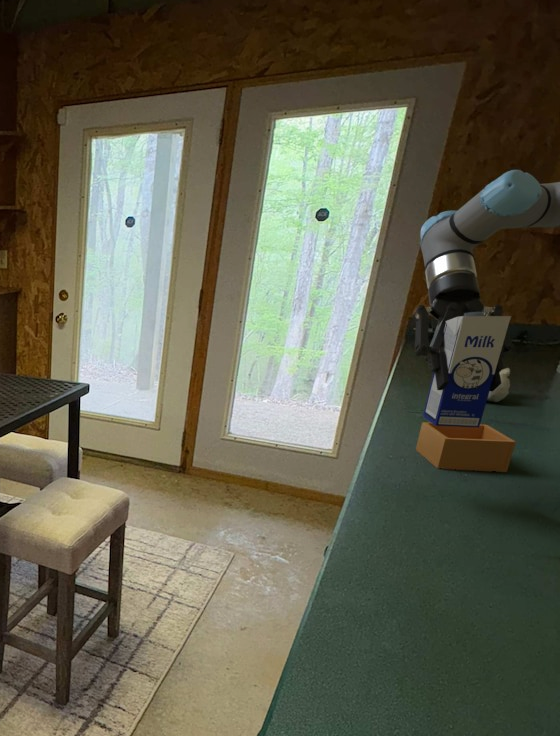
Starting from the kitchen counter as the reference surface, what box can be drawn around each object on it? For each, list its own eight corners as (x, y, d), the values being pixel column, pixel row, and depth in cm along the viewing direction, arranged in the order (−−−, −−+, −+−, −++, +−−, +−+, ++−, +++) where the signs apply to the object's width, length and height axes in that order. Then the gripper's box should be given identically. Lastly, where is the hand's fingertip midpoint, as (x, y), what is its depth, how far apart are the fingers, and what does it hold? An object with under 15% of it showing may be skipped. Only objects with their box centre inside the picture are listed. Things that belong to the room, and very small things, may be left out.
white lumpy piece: (483, 414, 177) (540, 381, 171) (465, 393, 178) (521, 360, 173) (465, 416, 191) (517, 386, 185) (448, 397, 192) (500, 367, 187)
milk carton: (434, 425, 115) (462, 314, 107) (421, 415, 121) (447, 309, 113) (480, 427, 113) (512, 314, 105) (465, 417, 119) (494, 309, 111)
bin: (478, 453, 143) (487, 424, 140) (506, 472, 132) (516, 441, 129) (415, 450, 146) (422, 422, 144) (437, 468, 135) (445, 438, 132)
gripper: (502, 296, 120) (523, 399, 112) (384, 297, 125) (395, 395, 117) (526, 269, 113) (549, 376, 105) (400, 271, 119) (413, 373, 110)
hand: (468, 386), depth 111 cm, fingers closed on milk carton, 7 cm apart
